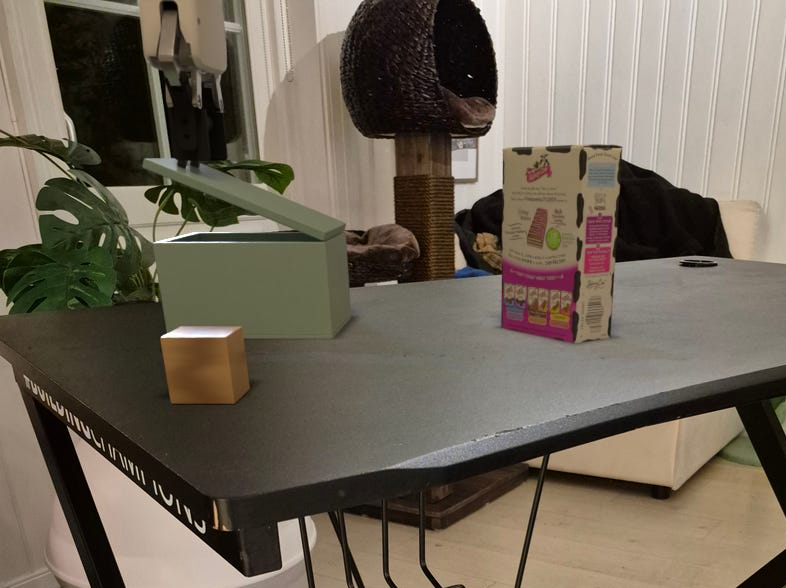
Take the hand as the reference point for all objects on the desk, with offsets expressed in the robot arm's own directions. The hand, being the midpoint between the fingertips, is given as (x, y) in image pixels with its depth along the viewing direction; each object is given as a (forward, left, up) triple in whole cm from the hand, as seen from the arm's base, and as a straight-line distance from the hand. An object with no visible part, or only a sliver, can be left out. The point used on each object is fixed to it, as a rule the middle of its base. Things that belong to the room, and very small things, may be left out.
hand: (201, 158), depth 84 cm
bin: (+4, 0, -16) cm, 16 cm away
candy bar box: (+33, 0, -16) cm, 37 cm away
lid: (+4, 0, -4) cm, 6 cm away
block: (+9, -27, -16) cm, 32 cm away
